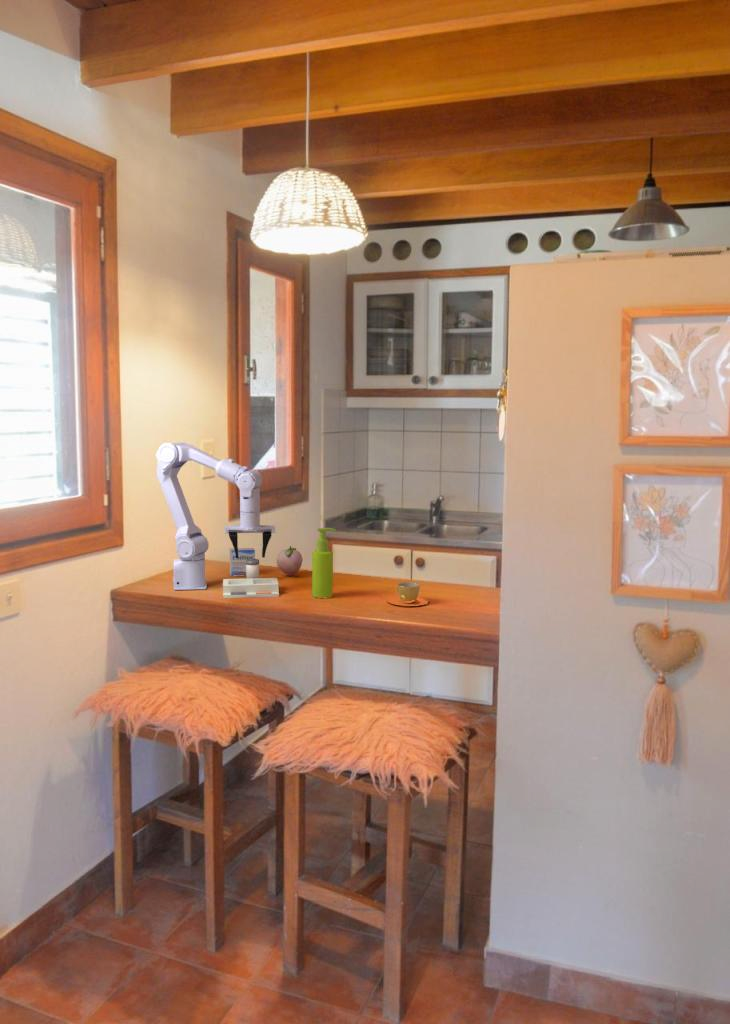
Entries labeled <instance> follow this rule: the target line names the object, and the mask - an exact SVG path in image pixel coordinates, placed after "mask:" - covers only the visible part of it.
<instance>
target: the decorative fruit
mask: <svg viewBox="0 0 730 1024" xmlns="http://www.w3.org/2000/svg"><path fill="white" fill-rule="evenodd" d="M276 564H277V565H276V566H277V568H278V569H279V570H280V571H281V572H282V573H284V574H286V575H287V576H289V577H292V576H294V575H295V574H297V573H298V572H299V571H300V569H301V568H302V564H303V556H302V554H301V552H300V551H299V550H297V548H295V547H292V545H290V546H289V548H287V549H283V550H281V551H280V552H279V554H278V555H277V558H276Z"/></svg>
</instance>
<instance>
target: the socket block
mask: <svg viewBox="0 0 730 1024" xmlns="http://www.w3.org/2000/svg"><path fill="white" fill-rule="evenodd" d="M279 588H280V587H279V582H278V578H277V577H259V578H251V579H246V578H223V580H222V599H239V598H241V599H242V598H270V597H271V598H272V597H273V598H274V597H277V598H278V597H280V593H279V591H280V590H279Z"/></svg>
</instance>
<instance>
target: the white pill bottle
mask: <svg viewBox="0 0 730 1024" xmlns="http://www.w3.org/2000/svg"><path fill="white" fill-rule="evenodd" d="M251 578H260V559H259V558H255V559H247V560H246V576H245V579H251Z"/></svg>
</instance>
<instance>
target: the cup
mask: <svg viewBox="0 0 730 1024" xmlns="http://www.w3.org/2000/svg"><path fill="white" fill-rule="evenodd" d="M420 587H421V585H420V583H417V582H413V581H403V582H401V581H400V582H398V583H397V584H396V589H397V594H398V597H400V599H401V600H403V601H412V600H416V599H417V597H419V594H420V589H421V588H420ZM401 600H400V601H401Z"/></svg>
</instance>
